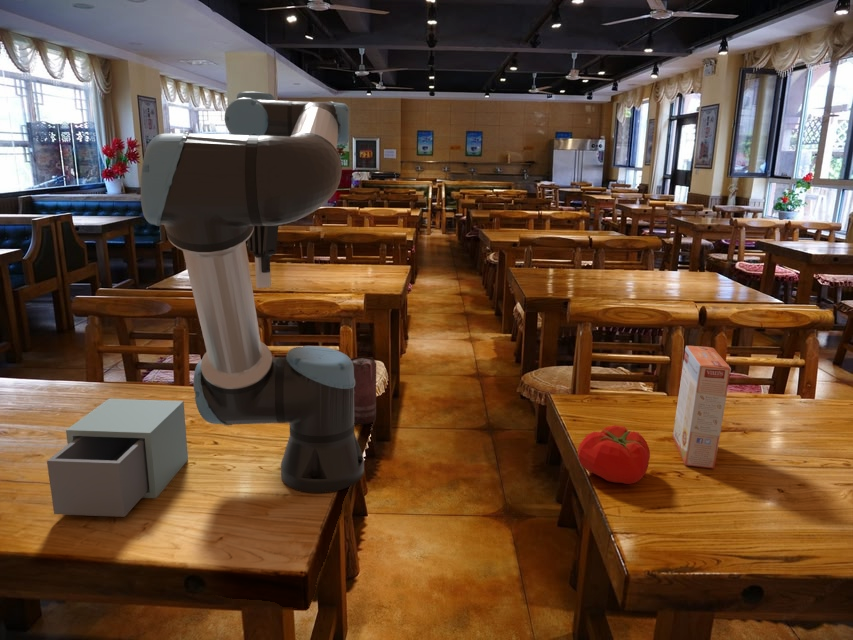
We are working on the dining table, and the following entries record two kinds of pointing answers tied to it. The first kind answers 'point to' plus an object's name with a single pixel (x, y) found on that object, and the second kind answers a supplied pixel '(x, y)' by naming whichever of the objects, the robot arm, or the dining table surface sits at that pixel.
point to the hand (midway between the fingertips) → (263, 286)
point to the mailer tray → (98, 476)
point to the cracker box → (701, 406)
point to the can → (364, 390)
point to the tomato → (615, 454)
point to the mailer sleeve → (142, 433)
